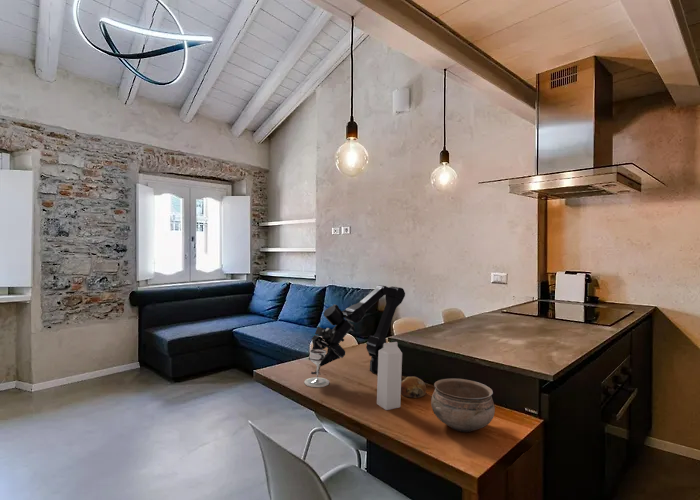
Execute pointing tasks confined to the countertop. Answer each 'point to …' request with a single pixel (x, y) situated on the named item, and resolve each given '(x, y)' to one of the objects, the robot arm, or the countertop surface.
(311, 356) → the wineglass
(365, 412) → the countertop surface
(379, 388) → the milk
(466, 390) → the cooking pot
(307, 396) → the countertop surface
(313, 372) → the tactical tomahawk
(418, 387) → the bread roll
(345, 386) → the countertop surface
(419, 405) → the countertop surface
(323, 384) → the plate
